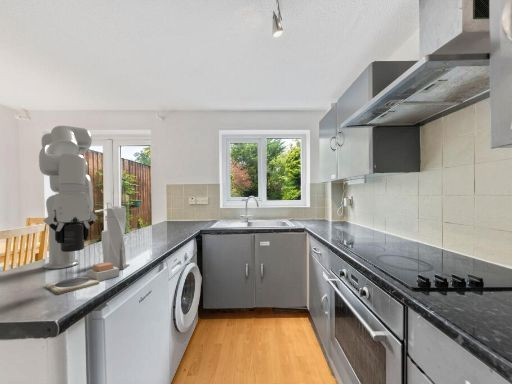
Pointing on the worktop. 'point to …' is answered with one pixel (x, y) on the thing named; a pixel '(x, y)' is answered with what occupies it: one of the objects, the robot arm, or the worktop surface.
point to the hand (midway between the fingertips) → (72, 240)
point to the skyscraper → (116, 236)
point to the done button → (102, 266)
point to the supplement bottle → (72, 236)
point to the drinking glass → (105, 245)
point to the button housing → (103, 274)
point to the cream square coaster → (71, 284)
